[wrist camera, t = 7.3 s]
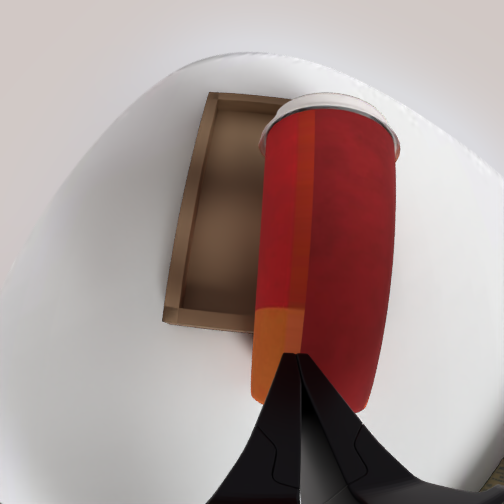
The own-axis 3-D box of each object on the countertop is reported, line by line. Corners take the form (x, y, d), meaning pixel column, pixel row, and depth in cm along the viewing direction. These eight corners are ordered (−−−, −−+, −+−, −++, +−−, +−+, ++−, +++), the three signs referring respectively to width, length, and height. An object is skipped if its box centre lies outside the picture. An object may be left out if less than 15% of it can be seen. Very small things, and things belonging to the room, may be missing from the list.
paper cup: (388, 389, 14) (397, 163, 17) (390, 436, 7) (394, 80, 10) (262, 373, 18) (286, 167, 20) (190, 395, 11) (237, 98, 14)
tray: (363, 338, 17) (376, 336, 15) (169, 324, 16) (162, 321, 15) (350, 126, 22) (357, 112, 20) (210, 108, 22) (209, 92, 20)
